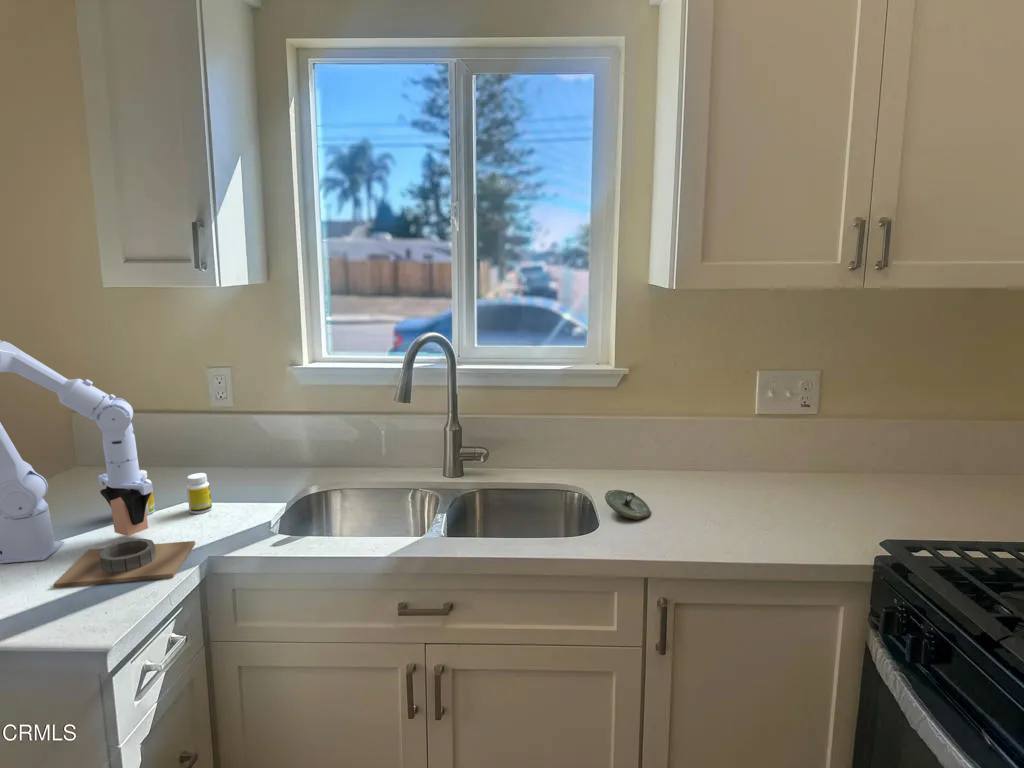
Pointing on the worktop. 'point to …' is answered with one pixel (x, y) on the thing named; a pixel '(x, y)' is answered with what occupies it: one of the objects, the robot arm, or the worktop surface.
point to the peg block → (125, 519)
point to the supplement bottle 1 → (150, 503)
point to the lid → (627, 504)
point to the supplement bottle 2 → (198, 493)
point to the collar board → (146, 572)
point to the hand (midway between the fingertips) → (130, 521)
